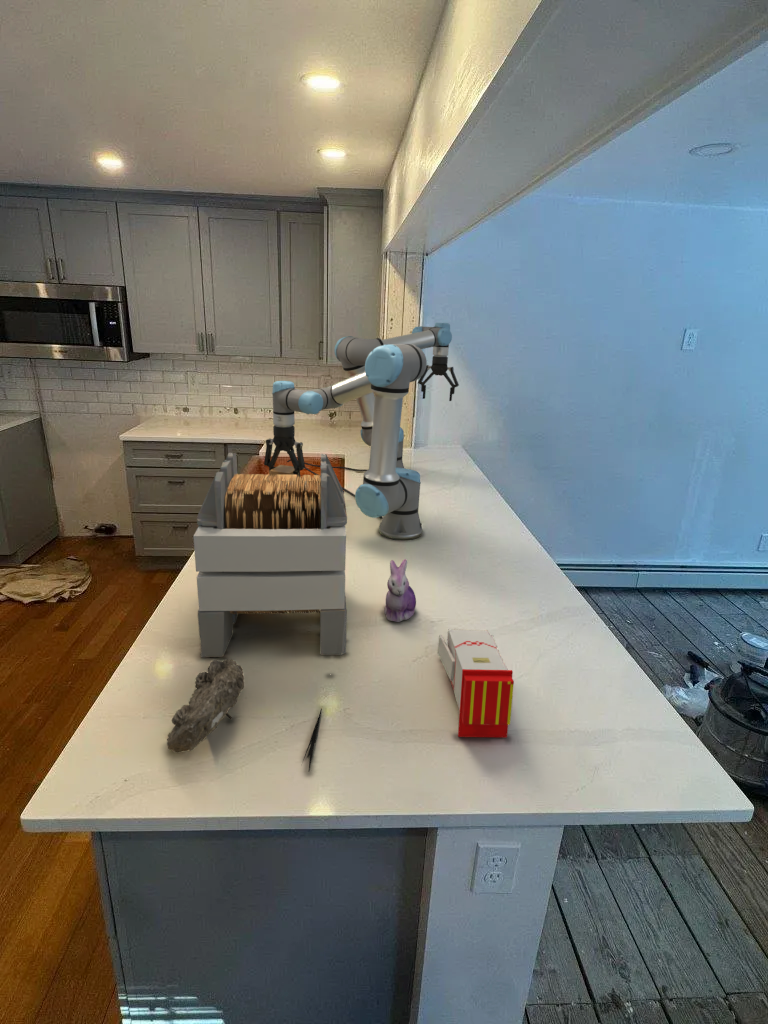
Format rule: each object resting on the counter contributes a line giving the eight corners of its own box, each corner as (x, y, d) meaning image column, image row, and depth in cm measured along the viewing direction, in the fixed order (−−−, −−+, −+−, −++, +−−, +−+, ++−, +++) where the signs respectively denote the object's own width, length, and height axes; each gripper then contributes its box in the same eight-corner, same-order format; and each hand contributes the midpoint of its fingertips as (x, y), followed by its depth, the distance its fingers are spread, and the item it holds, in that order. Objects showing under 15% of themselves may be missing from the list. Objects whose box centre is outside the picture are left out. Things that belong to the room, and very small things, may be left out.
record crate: (222, 587, 156) (213, 443, 143) (341, 586, 160) (343, 445, 146) (198, 659, 125) (184, 483, 111) (346, 655, 129) (350, 484, 115)
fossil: (192, 660, 117) (244, 628, 112) (224, 691, 120) (276, 661, 115) (142, 746, 98) (202, 712, 93) (182, 779, 101) (242, 748, 96)
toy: (488, 613, 130) (523, 677, 101) (484, 667, 133) (517, 744, 104) (435, 612, 130) (455, 676, 101) (432, 666, 133) (451, 743, 103)
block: (269, 490, 208) (269, 470, 206) (280, 484, 216) (280, 464, 214) (289, 493, 206) (289, 473, 203) (300, 487, 214) (299, 467, 212)
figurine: (392, 627, 141) (395, 572, 136) (374, 608, 149) (376, 556, 144) (425, 619, 145) (429, 566, 140) (405, 601, 154) (408, 550, 149)
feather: (331, 679, 122) (336, 673, 122) (307, 777, 96) (313, 769, 95) (324, 675, 122) (329, 669, 121) (298, 772, 95) (304, 764, 95)
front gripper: (252, 424, 202) (254, 484, 210) (306, 430, 197) (306, 492, 205) (262, 420, 209) (264, 479, 217) (315, 426, 204) (314, 486, 211)
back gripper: (413, 354, 277) (411, 398, 284) (464, 358, 271) (460, 402, 278) (417, 353, 284) (414, 396, 291) (466, 357, 278) (462, 400, 285)
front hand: (284, 485), depth 211 cm, fingers closed on block, 8 cm apart
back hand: (437, 399), depth 285 cm, fingers open, 13 cm apart
